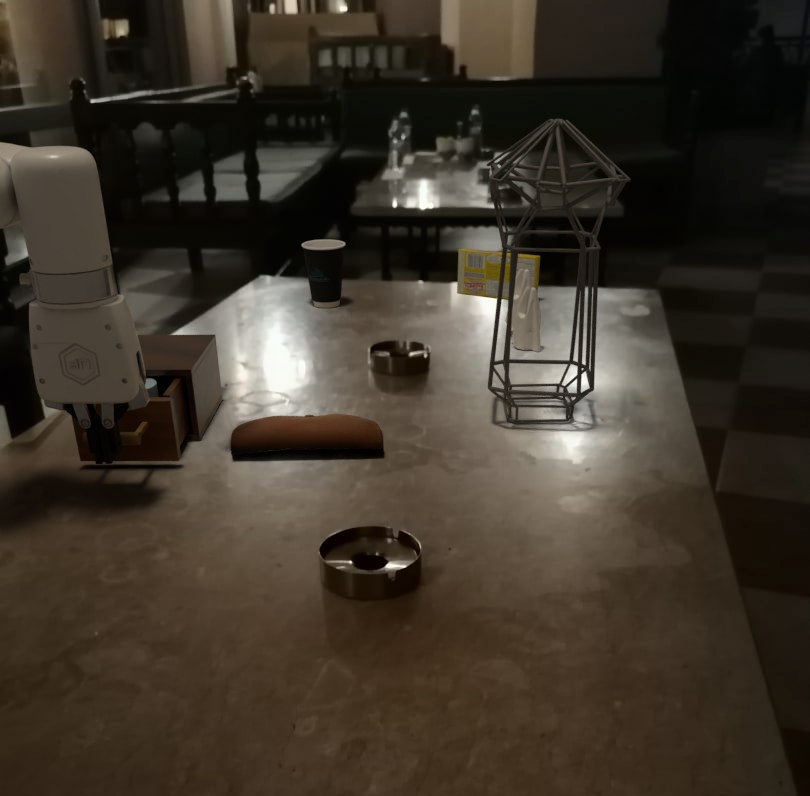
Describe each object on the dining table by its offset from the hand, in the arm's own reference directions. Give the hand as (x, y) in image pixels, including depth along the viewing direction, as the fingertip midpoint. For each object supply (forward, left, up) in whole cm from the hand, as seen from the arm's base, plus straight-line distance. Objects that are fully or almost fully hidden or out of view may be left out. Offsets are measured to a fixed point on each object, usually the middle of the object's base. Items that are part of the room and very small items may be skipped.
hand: (107, 458), depth 97 cm
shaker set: (+50, +56, -4) cm, 75 cm away
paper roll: (0, +13, -2) cm, 13 cm away
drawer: (0, +11, -3) cm, 11 cm away
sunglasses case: (+20, +13, -4) cm, 24 cm away
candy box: (+48, +85, -4) cm, 98 cm away
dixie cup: (+16, +80, -4) cm, 82 cm away
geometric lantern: (+49, +24, -4) cm, 55 cm away
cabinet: (0, +22, -4) cm, 22 cm away
